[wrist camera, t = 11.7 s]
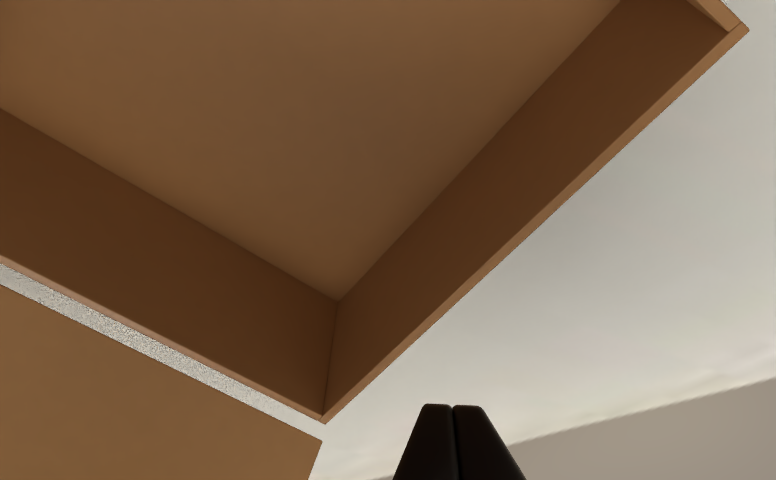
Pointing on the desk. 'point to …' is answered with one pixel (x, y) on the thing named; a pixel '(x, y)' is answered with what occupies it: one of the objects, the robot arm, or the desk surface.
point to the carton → (313, 160)
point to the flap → (123, 412)
